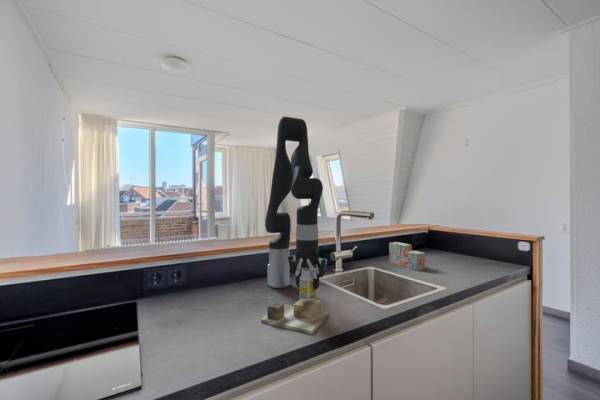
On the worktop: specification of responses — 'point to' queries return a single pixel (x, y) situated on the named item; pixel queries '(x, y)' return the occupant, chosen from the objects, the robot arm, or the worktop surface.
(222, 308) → the worktop surface
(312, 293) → the supplement bottle
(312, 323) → the birch board
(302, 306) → the oak pedestal
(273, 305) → the walnut block
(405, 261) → the stack of blocks
